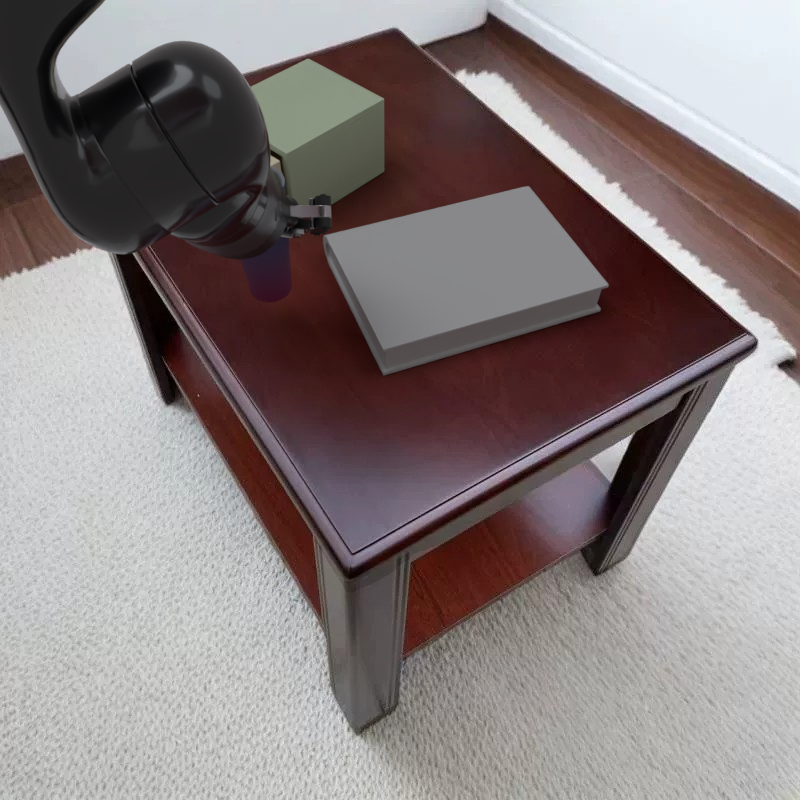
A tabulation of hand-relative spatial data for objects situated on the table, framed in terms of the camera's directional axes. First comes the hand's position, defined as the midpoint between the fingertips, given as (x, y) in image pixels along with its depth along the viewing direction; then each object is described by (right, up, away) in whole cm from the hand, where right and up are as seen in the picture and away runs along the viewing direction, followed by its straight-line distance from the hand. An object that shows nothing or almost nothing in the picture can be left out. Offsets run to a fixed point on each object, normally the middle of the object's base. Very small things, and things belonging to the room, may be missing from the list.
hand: (263, 226), depth 67 cm
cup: (0, -5, +4) cm, 6 cm away
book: (+19, -4, +11) cm, 22 cm away
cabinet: (+1, +11, +22) cm, 25 cm away
